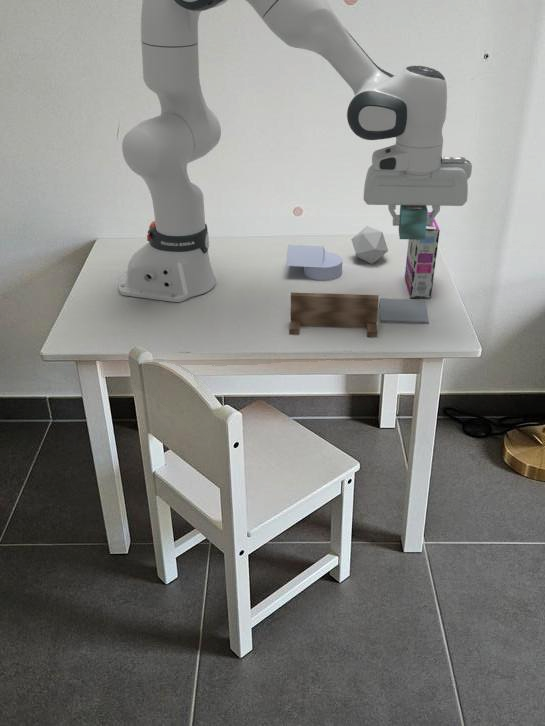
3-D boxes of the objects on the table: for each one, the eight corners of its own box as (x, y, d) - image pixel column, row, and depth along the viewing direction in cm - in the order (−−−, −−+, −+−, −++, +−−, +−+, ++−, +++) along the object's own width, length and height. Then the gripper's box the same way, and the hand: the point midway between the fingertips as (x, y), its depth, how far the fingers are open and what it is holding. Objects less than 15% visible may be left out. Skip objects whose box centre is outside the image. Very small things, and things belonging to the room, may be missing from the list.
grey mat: (380, 322, 155) (381, 320, 155) (379, 300, 164) (379, 298, 163) (428, 323, 154) (428, 321, 154) (424, 301, 163) (425, 299, 163)
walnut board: (289, 334, 151) (289, 304, 148) (291, 321, 156) (291, 292, 152) (376, 337, 150) (379, 307, 146) (376, 324, 154) (378, 295, 151)
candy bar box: (432, 298, 164) (440, 229, 155) (410, 298, 164) (417, 229, 155) (425, 277, 173) (432, 210, 165) (404, 277, 174) (410, 210, 165)
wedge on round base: (285, 278, 174) (340, 281, 172) (285, 252, 170) (341, 255, 169) (290, 262, 181) (342, 265, 180) (290, 237, 178) (344, 239, 176)
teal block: (399, 239, 147) (402, 209, 144) (398, 229, 152) (400, 200, 148) (424, 239, 147) (427, 210, 144) (422, 230, 151) (425, 201, 148)
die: (393, 263, 182) (388, 225, 183) (381, 258, 174) (376, 218, 175) (363, 269, 186) (358, 232, 186) (350, 265, 178) (345, 226, 179)
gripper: (470, 152, 143) (462, 220, 150) (365, 151, 145) (362, 218, 152) (475, 162, 137) (466, 231, 145) (365, 161, 139) (362, 230, 147)
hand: (412, 225), depth 148 cm, fingers closed on teal block, 5 cm apart
